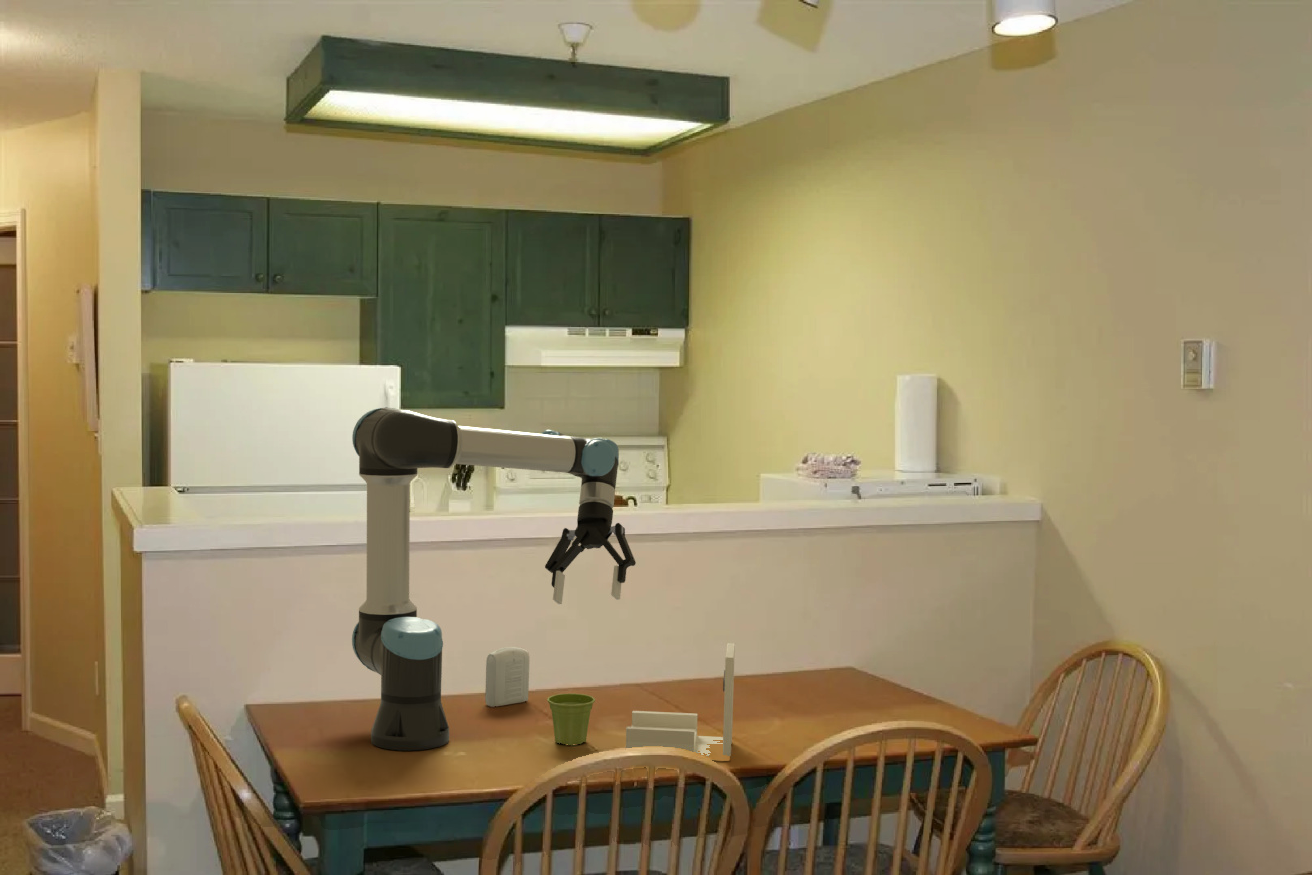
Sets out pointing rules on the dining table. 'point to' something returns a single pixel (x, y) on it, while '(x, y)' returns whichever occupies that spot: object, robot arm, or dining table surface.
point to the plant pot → (570, 717)
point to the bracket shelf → (684, 722)
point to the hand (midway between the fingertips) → (586, 599)
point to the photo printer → (507, 676)
